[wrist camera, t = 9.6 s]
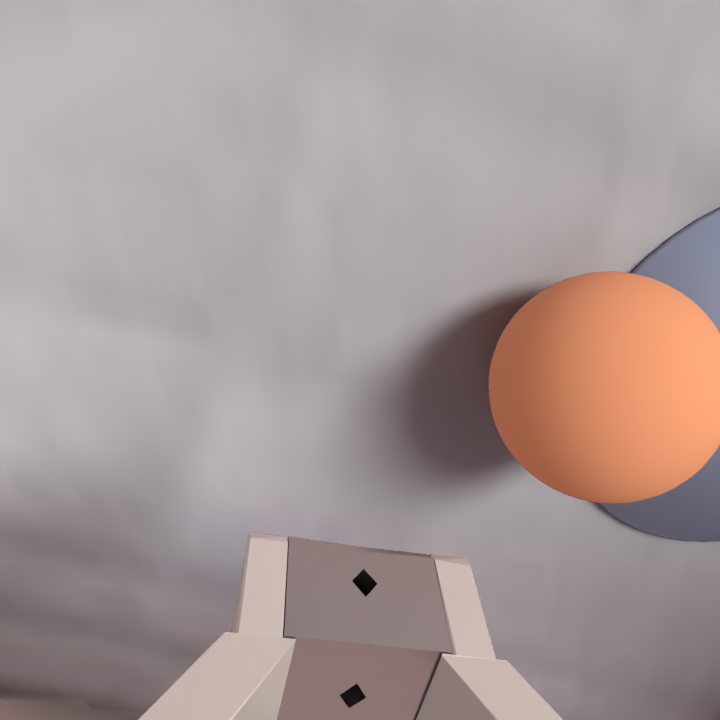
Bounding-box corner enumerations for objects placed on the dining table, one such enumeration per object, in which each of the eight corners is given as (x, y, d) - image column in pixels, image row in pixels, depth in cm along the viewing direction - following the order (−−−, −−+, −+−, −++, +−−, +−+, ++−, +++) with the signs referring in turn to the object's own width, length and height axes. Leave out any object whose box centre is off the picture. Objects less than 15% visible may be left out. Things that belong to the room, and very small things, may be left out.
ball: (464, 269, 15) (556, 239, 19) (435, 488, 17) (524, 416, 21) (746, 332, 12) (780, 280, 16) (669, 588, 14) (718, 481, 18)
